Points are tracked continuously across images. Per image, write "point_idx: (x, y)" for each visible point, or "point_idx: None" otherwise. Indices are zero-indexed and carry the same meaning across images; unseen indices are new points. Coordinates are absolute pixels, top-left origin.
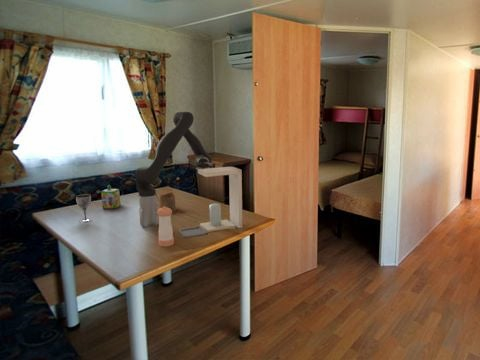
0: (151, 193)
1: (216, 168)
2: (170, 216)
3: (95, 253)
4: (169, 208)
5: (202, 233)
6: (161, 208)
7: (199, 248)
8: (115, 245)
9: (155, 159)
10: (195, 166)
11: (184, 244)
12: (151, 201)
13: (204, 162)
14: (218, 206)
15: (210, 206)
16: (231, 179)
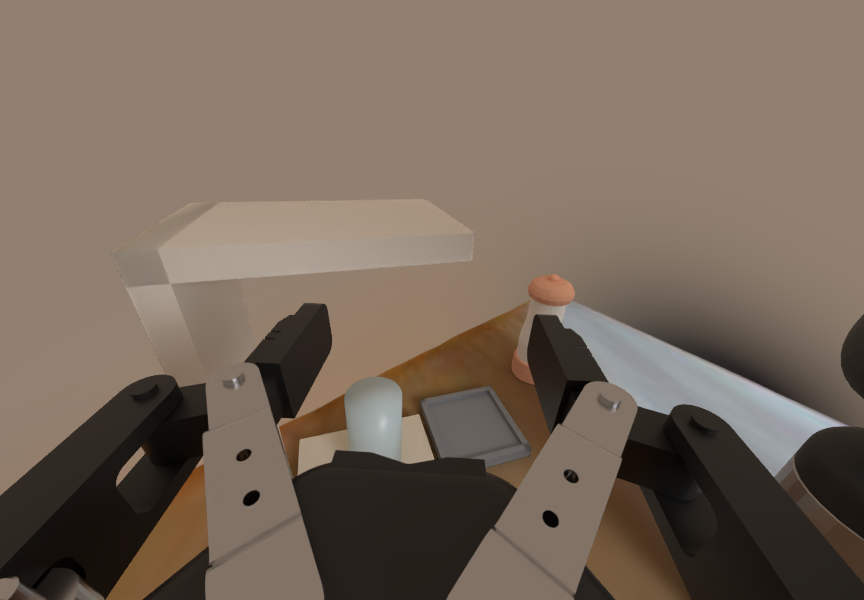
0: (806, 442)
1: (322, 230)
2: (531, 300)
3: (683, 362)
4: (538, 282)
5: (437, 398)
6: (561, 280)
7: (445, 347)
8: (677, 392)
9: None
10: (536, 319)
11: (484, 368)
12: (775, 477)
13: (321, 585)
14: (362, 380)
15: (398, 386)
16: (210, 324)
